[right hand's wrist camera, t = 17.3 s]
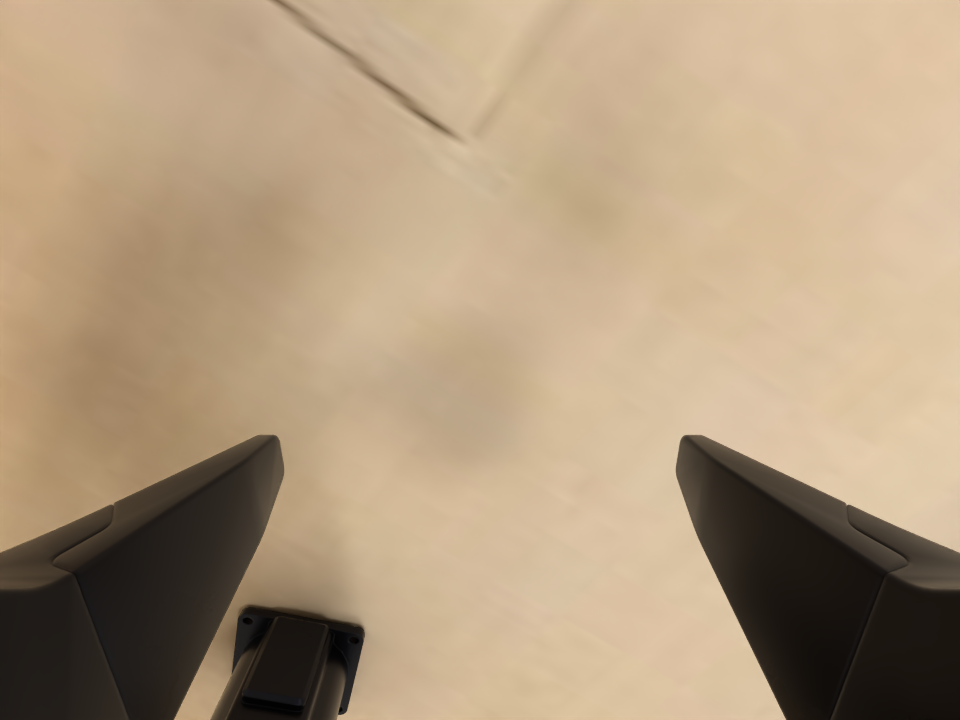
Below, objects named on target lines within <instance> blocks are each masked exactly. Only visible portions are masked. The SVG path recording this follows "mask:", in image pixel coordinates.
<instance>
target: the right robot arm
mask: <svg viewBox="0 0 960 720" xmlns="http://www.w3.org/2000/svg"><path fill="white" fill-rule="evenodd" d="M283 476H284V464H283V458H282V452H281V446H280V441H279V439H278V437H277V436H276V435H258V436H255V437H253V438H251V439H249V440H247V441H245V442H243V443H240V444H238V445H236V446H234V447H232V448H230V449H228V450H226V451H223V452H221V453H219V454H217V455H215V456H213V457H211V458H209V459H206V460H204V461H202V462H200V463H198V464H196V465H194V466H192V467H189V468H187V469H185V470H183V471H181V472H179V473H177V474H175V475H172V476H170V477H168V478H166V479H164V480H162V481H160V482H158V483H156V484H153V485H151V486H149V487H147V488H145V489H143V490H141V491H139V492H136V493H134V494H132V495H130V496H128V497H126V498H124V499H122V500H119V501H117V502H115V503H114V506H113V505H109V506H107V507H104V508H102V509H100V510H98V511H96V512H94V513H92V514H89V515H87V516H85V517H83V518H81V519H78V520H76V521H74V522H72V523H70V524H67V525H65V526H63V527H61V528H58V529H56V530H54V531H51V532H49V533H47V534H44V535H42V536H40V537H37V538H35V539H33V540H30V541H28V542H25V543H23V544H21V545H18V546H16V547H13V548H11V549H9V550H6V551H4V552H1V553H0V720H174V718H175V716H176V714H177V712H178V710H179V708H180V706H181V704H182V702H183V700H184V698H185V696H186V694H187V691H188V689H189V687H190V685H191V683H192V681H193V679H194V677H195V675H196V673H197V671H198V669H199V667H200V665H201V663H202V660H203V658H204V656H205V654H206V652H207V650H208V648H209V646H210V644H211V642H212V640H213V638H214V636H215V634H216V632H217V630H218V627H219V625H220V623H221V621H222V619H223V617H224V615H225V613H226V611H227V609H228V607H229V605H230V603H231V601H232V599H233V597H234V594H235V592H236V590H237V588H238V586H239V584H240V582H241V580H242V578H243V576H244V574H245V572H246V570H247V568H248V566H249V564H250V561H251V559H252V557H253V555H254V553H255V551H256V549H257V547H258V545H259V543H260V541H261V538H262V536H263V534H264V531H265V528H266V526H267V523H268V520H269V517H270V514H271V511H272V509H273V506H274V503H275V500H276V497H277V494H278V491H279V488H280V485H281V482H282V480H283ZM676 476H677V480H678V482H679V485H680V488H681V491H682V494H683V497H684V500H685V503H686V506H687V509H688V511H689V514H690V517H691V520H692V523H693V526H694V528H695V531H696V534H697V536H698V538H699V541H700V543H701V545H702V547H703V549H704V551H705V553H706V555H707V557H708V559H709V561H710V564H711V566H712V568H713V570H714V572H715V574H716V576H717V578H718V580H719V582H720V584H721V586H722V588H723V590H724V592H725V594H726V597H727V599H728V601H729V603H730V605H731V607H732V609H733V611H734V613H735V615H736V617H737V619H738V621H739V623H740V625H741V627H742V630H743V632H744V634H745V636H746V638H747V640H748V642H749V644H750V646H751V648H752V650H753V652H754V654H755V656H756V658H757V661H758V663H759V665H760V667H761V669H762V671H763V673H764V675H765V677H766V679H767V681H768V683H769V685H770V687H771V689H772V691H773V694H774V696H775V698H776V700H777V702H778V704H779V706H780V708H781V710H782V712H783V714H784V716H785V718H786V720H960V553H959V552H956V551H954V550H951V549H949V548H947V547H944V546H942V545H939V544H937V543H935V542H932V541H930V540H927V539H925V538H923V537H920V536H918V535H916V534H913V533H911V532H909V531H906V530H904V529H902V528H899V527H897V526H895V525H893V524H890V523H888V522H886V521H884V520H882V519H879V518H877V517H875V516H873V515H871V514H868V513H866V512H864V511H862V510H860V509H858V508H856V507H853V506H851V505H847V506H846V503H845V502H843V501H841V500H838V499H836V498H834V497H832V496H830V495H828V494H826V493H824V492H821V491H819V490H817V489H815V488H813V487H811V486H809V485H807V484H804V483H802V482H800V481H798V480H796V479H794V478H792V477H790V476H788V475H785V474H783V473H781V472H779V471H777V470H775V469H773V468H771V467H768V466H766V465H764V464H762V463H760V462H758V461H756V460H754V459H751V458H749V457H747V456H745V455H743V454H741V453H739V452H737V451H734V450H732V449H730V448H728V447H726V446H724V445H722V444H720V443H717V442H715V441H713V440H711V439H709V438H707V437H705V436H702V435H684V436H683V437H682V439H681V441H680V446H679V452H678V458H677V464H676ZM364 637H365V632H364V631H363V630H362V629H361V628H359V627H354V626H349V625H344V624H338V623H333V622H327V621H322V620H317V619H311V618H306V617H300V616H295V615H290V614H284V613H279V612H273V611H268V610H263V609H257V608H251V607H248V608H245V609H243V610H242V612H241V614H240V616H239V618H238V625H237V634H236V643H235V652H234V661H233V670H232V676H231V678H230V680H229V682H228V684H227V686H226V688H225V690H224V692H223V694H222V696H221V699H220V701H219V703H218V705H217V707H216V709H215V711H214V713H213V715H212V717H211V719H210V720H337V716H338V715H342V714H344V713H346V711H347V708H348V704H349V700H350V696H351V692H352V687H353V683H354V679H355V675H356V671H357V667H358V662H359V658H360V654H361V650H362V646H363V641H364Z"/></svg>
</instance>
